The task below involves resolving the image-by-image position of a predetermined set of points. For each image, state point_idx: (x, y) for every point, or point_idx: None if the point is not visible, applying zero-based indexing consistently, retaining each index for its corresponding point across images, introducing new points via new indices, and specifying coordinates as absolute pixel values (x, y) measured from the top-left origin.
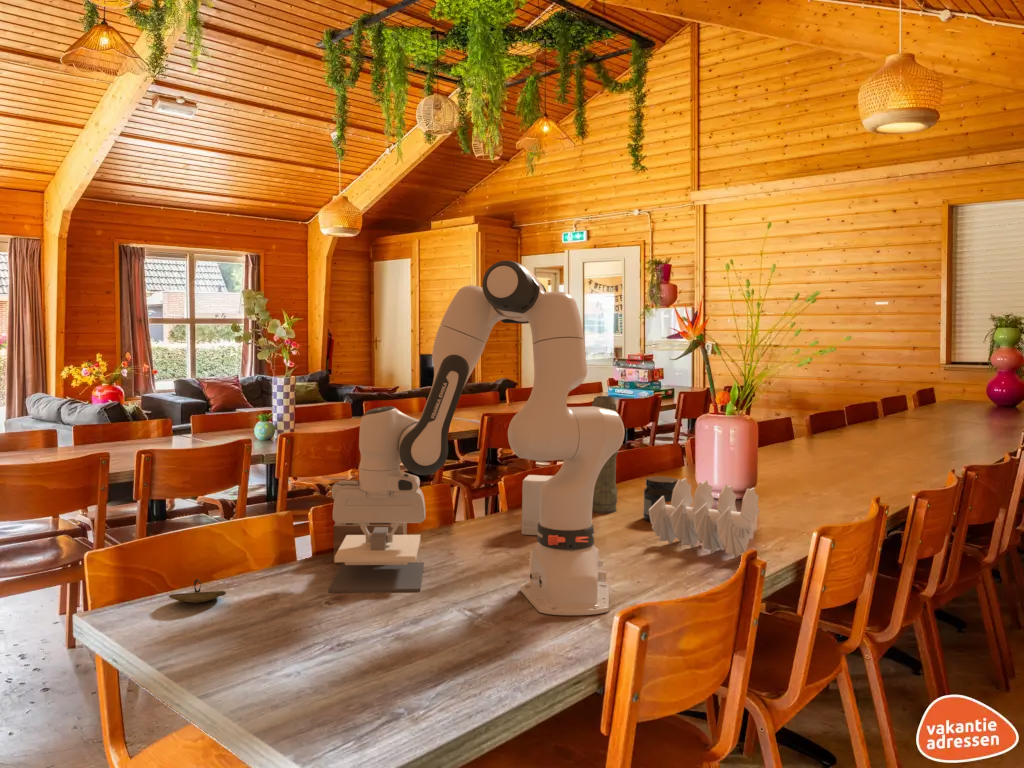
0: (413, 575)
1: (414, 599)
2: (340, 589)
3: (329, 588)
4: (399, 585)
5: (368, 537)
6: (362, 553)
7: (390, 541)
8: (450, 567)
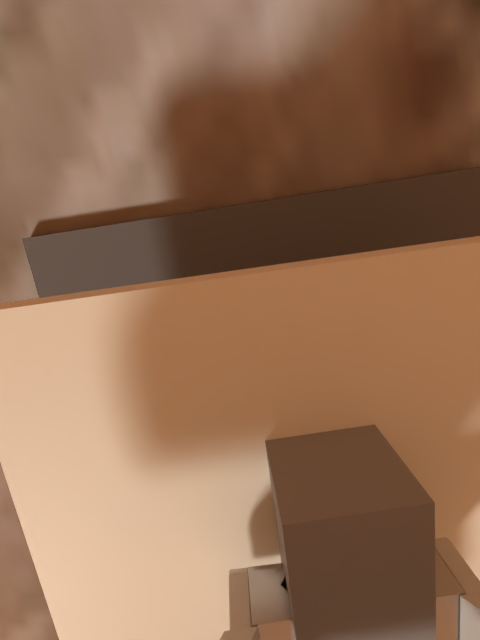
0: None
1: (17, 102)
2: (440, 174)
3: None
4: (147, 276)
5: (447, 573)
6: (425, 336)
7: (245, 571)
8: (5, 584)
